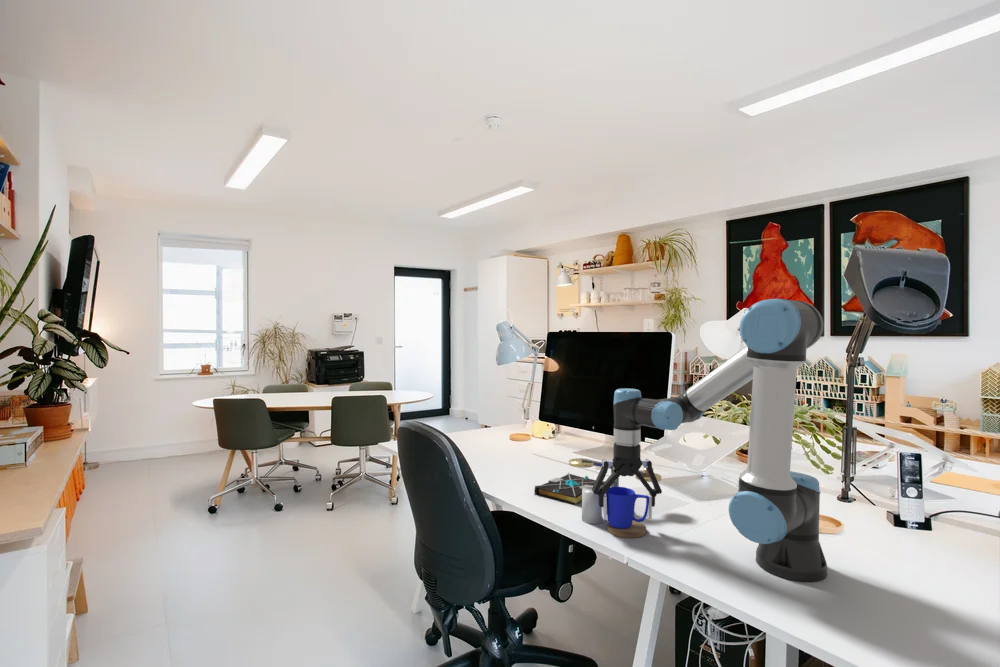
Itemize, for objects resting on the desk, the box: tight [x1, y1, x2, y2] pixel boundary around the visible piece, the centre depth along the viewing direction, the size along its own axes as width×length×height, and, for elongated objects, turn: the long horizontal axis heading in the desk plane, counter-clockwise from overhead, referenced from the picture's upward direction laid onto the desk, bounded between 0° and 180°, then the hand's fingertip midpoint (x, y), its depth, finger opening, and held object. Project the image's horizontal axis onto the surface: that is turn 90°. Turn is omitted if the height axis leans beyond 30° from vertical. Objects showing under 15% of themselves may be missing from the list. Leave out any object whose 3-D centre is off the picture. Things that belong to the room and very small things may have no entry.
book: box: [533, 471, 606, 506], centre depth 181 cm, size 22×17×5 cm
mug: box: [605, 486, 649, 529], centre depth 147 cm, size 8×12×10 cm
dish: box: [606, 520, 647, 539], centre depth 147 cm, size 11×11×1 cm
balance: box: [568, 457, 662, 487], centre depth 164 cm, size 8×30×16 cm, turn 92°
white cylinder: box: [581, 487, 604, 525], centre depth 155 cm, size 6×6×9 cm
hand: (626, 517), depth 147 cm, fingers open, 12 cm apart
